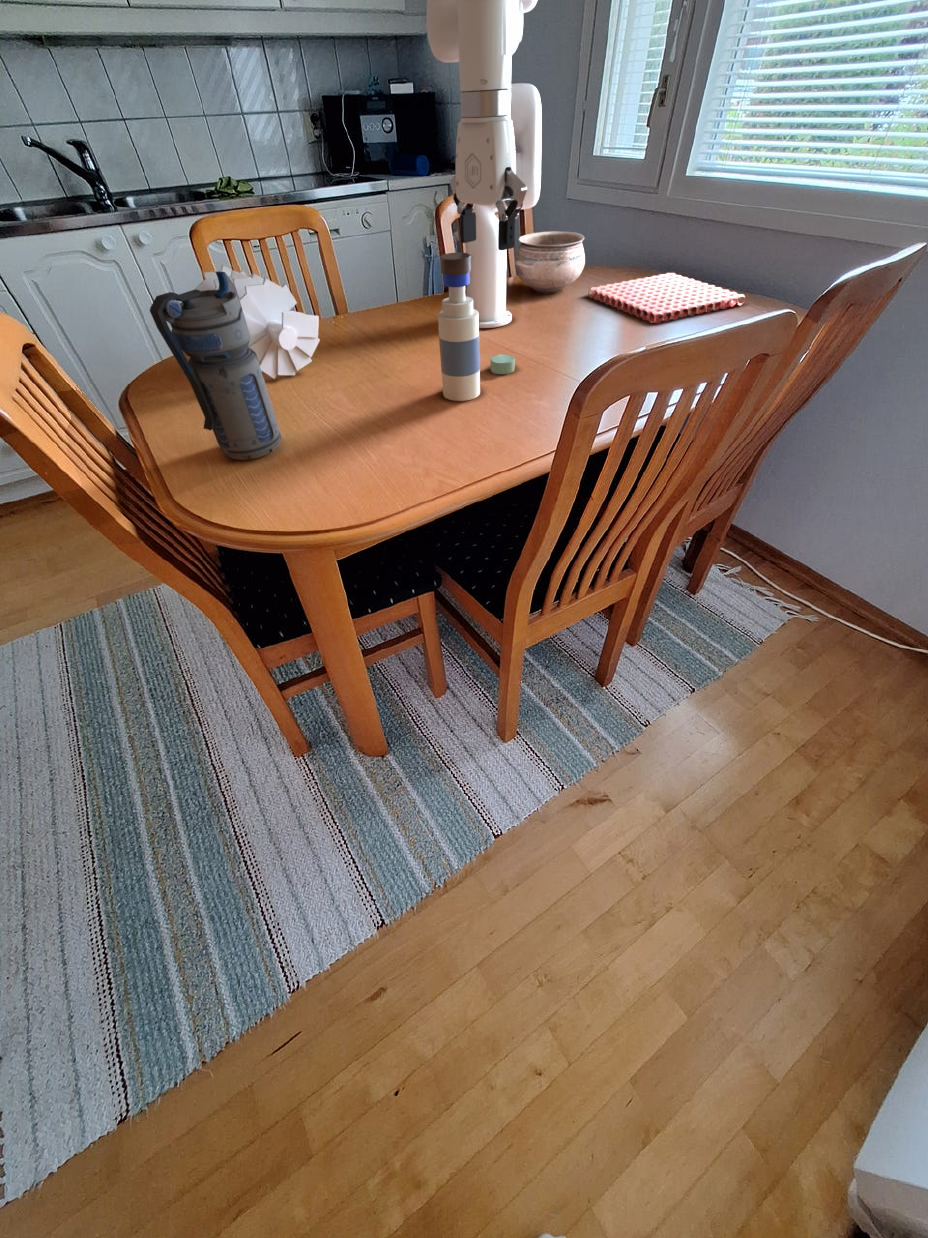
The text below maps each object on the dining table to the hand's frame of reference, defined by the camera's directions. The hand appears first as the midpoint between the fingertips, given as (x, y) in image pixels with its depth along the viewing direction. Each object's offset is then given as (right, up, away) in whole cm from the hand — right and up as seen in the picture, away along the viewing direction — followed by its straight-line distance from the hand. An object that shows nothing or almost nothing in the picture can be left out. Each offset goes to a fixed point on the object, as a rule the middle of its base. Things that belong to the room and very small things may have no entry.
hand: (486, 245), depth 91 cm
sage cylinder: (+4, -13, +19) cm, 23 cm away
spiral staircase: (-48, -9, +26) cm, 55 cm away
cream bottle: (-4, -21, +11) cm, 24 cm away
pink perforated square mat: (+48, +19, +47) cm, 70 cm away
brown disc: (-5, -7, -3) cm, 9 cm away
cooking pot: (+20, +28, +58) cm, 68 cm away
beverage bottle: (-41, -36, -1) cm, 54 cm away
